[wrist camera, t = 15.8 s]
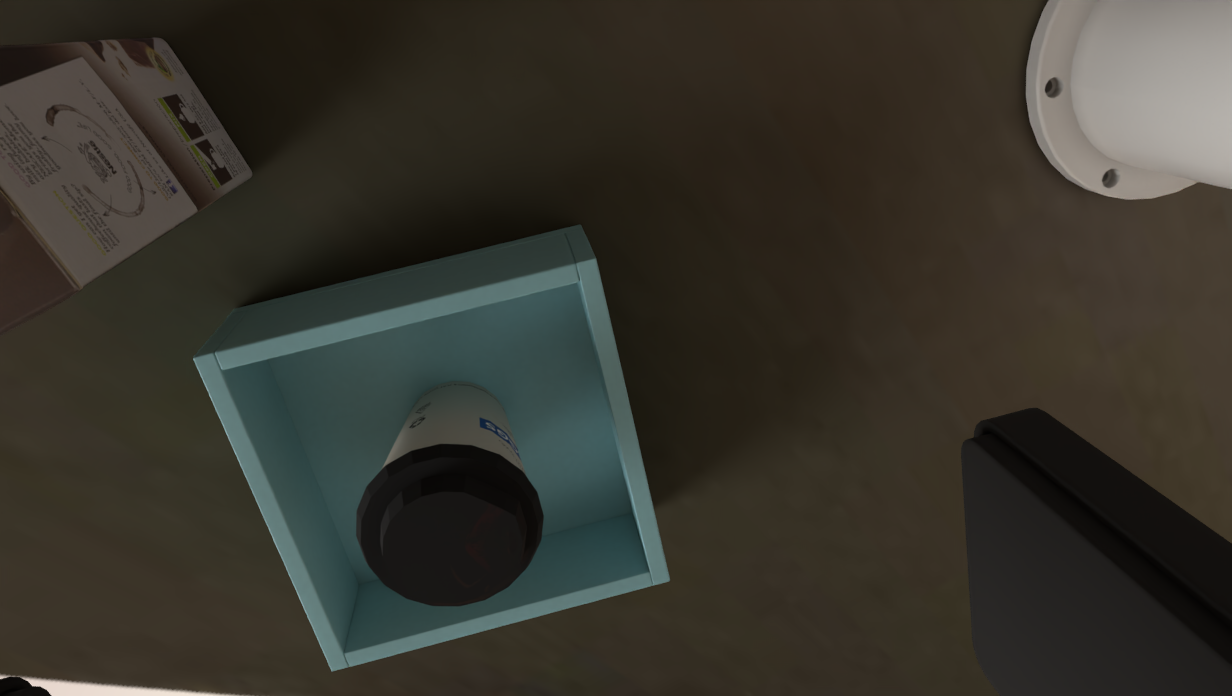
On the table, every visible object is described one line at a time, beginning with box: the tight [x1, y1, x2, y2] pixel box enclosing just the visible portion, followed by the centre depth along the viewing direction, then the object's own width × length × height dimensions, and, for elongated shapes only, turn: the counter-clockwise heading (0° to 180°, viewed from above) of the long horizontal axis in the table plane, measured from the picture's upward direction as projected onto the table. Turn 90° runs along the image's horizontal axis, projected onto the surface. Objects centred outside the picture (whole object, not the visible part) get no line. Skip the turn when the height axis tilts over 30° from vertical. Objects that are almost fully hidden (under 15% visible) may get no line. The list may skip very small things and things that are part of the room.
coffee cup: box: [356, 381, 544, 606], centre depth 35 cm, size 7×7×10 cm
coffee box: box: [0, 37, 252, 336], centre depth 27 cm, size 9×6×16 cm
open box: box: [193, 225, 670, 671], centre depth 38 cm, size 16×16×6 cm
